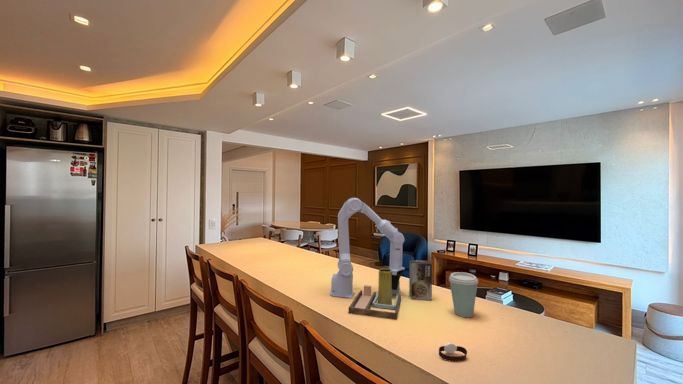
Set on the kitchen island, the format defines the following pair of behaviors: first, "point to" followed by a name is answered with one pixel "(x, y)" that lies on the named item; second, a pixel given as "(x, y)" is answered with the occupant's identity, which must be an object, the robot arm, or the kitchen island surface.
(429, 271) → the coffee box
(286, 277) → the kitchen island surface
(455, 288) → the disposable coffee cup
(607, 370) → the kitchen island surface
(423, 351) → the kitchen island surface
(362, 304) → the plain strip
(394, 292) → the tray
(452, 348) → the watch
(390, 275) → the vase
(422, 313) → the kitchen island surface
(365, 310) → the lane rack
